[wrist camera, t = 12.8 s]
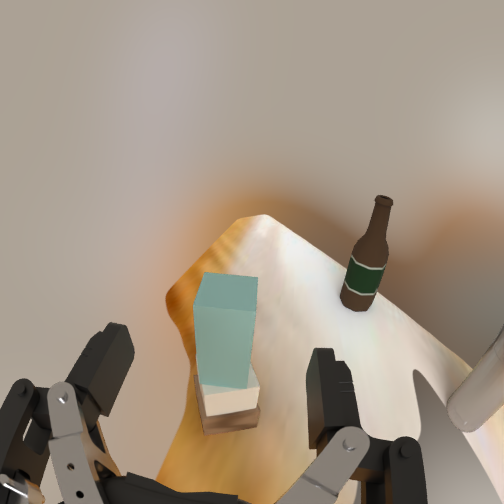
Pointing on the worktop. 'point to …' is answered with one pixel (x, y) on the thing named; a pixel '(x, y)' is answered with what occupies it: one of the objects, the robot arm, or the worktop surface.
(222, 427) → the walnut block
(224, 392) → the cream block
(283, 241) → the worktop surface
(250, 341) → the teal block
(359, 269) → the beer bottle
